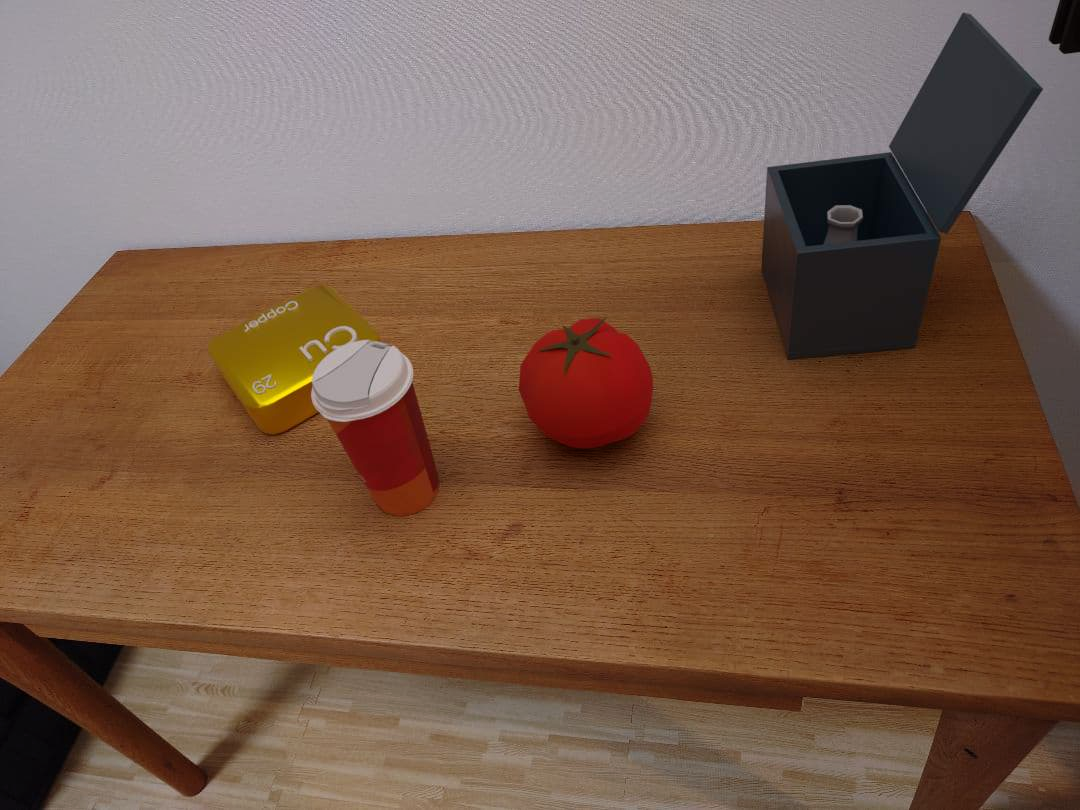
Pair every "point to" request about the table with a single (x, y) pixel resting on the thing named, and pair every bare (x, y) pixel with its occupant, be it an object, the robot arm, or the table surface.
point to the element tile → (286, 354)
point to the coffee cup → (378, 423)
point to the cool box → (846, 257)
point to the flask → (843, 224)
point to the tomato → (586, 384)
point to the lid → (962, 120)
